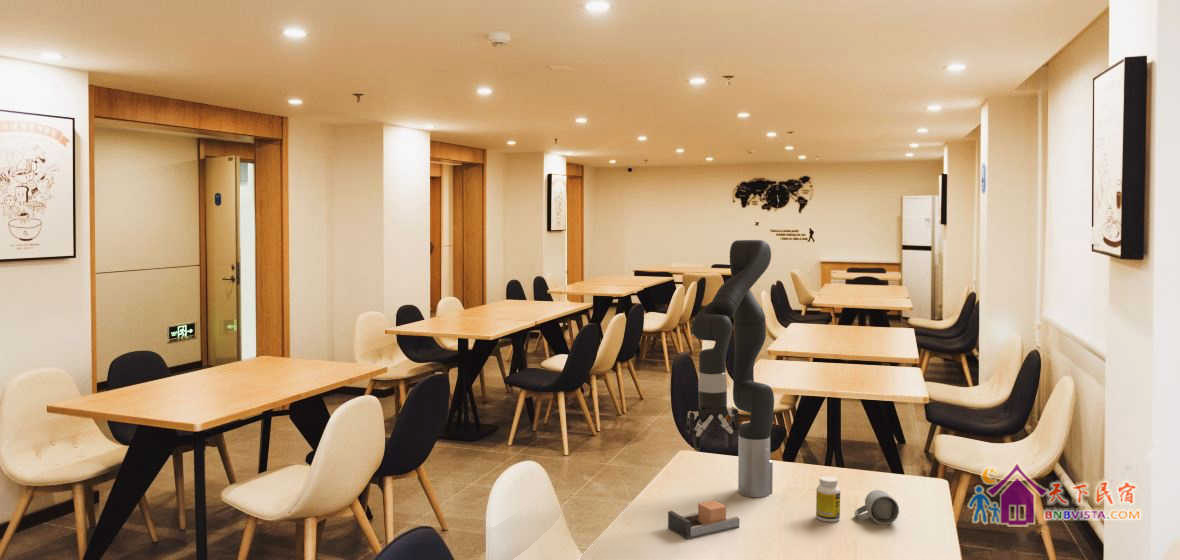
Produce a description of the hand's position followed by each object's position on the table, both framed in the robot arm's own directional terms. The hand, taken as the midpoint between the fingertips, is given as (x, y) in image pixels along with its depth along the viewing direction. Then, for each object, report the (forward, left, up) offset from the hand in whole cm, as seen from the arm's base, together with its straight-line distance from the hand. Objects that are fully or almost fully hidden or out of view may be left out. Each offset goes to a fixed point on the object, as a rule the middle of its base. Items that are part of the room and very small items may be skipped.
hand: (713, 447), depth 213 cm
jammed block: (+3, +3, -20) cm, 20 cm away
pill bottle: (-28, +14, -20) cm, 37 cm away
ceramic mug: (-39, +21, -20) cm, 48 cm away
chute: (+5, +3, -20) cm, 21 cm away
